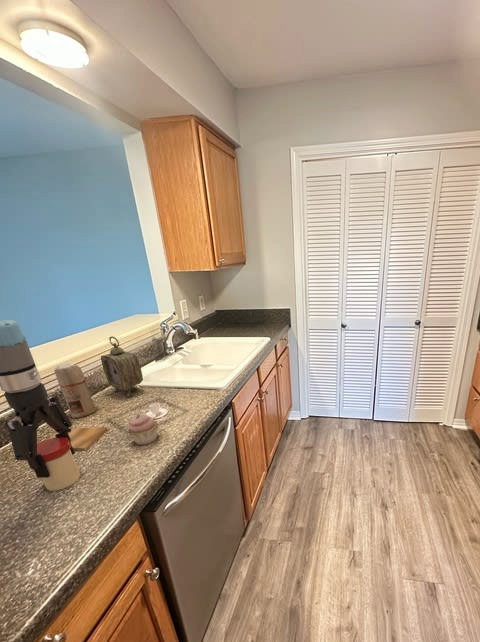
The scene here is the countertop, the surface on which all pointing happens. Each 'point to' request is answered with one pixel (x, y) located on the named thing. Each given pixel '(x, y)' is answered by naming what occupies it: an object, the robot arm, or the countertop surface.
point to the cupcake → (143, 429)
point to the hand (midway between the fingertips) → (57, 464)
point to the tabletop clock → (121, 368)
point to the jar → (61, 472)
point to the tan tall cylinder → (75, 390)
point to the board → (83, 437)
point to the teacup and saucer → (156, 411)
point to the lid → (53, 448)
